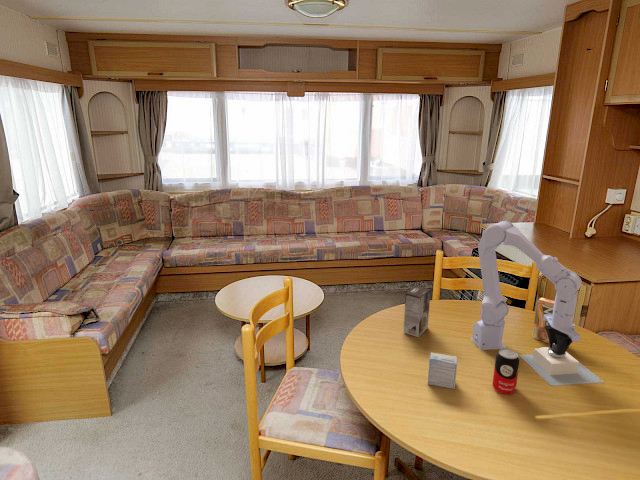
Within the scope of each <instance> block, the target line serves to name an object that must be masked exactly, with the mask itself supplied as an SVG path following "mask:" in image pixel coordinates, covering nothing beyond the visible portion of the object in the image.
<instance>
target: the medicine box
mask: <svg viewBox="0 0 640 480" xmlns="http://www.w3.org/2000/svg"><path fill="white" fill-rule="evenodd" d="M428 360H429V361H428V371H427V372H428V373H427V385H429V386H430V385H431V386H435V387H441V388H447V389H453V390H455V389H456V378H457V369H458V368H457V367H458V357H457V356H455V355H448V354H443V353H435V352H430V354H429V359H428Z"/></svg>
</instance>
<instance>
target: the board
mask: <svg viewBox="0 0 640 480" xmlns="http://www.w3.org/2000/svg"><path fill="white" fill-rule="evenodd" d="M533 354H534V353H533ZM533 354H532V353H531V354H518V357H520V358H521V359H522V360H523V361H524V362H525V363H526V364H528V365H529V366H530V367H531V368H532V369H533V370H534V371H535V372H536V373H537V374H538V375H539V376H540V377H541V378H542V379H543V380H544V381H546V383H548V384H549V386H551V387H554V386H568V385H583V384H585V385H587V384H598V383H599V384H600V383H605V381H604V380H603V379H601V378H600V377H599V376H597V375H596V374H595V373H594V372H592V371H591V370H590V369H588V368H587V367H586V366H585V365H583V363H581V362H579V367H578V372H577V374H562V375H549V374H548V373H547V372H546V371H545V370H544V369H543V368H542V367H540V366H539V365H538V364H537V363H536V362H535V361H534V360H533Z"/></svg>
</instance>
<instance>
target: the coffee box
mask: <svg viewBox="0 0 640 480" xmlns="http://www.w3.org/2000/svg"><path fill="white" fill-rule="evenodd" d="M404 298H405V302H404V316H403V317H404V318H403V319H404V320H403V333H404V334H407V335H411V336H413V337H416V338H420V337H421V335H422V334H423V333H424V332H425V331H426V330H427V329H428V327H429V317H430V315H429V314H430V301H431V299H430V298H431V289H430V288H426V287H422V286H418V285H414V286H413V287H411V288H410V289H409V290H408V291H407V292H406V293H405V297H404Z"/></svg>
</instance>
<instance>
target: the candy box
mask: <svg viewBox="0 0 640 480" xmlns="http://www.w3.org/2000/svg"><path fill="white" fill-rule="evenodd" d="M554 302H555V300H552V299H548V298H545V297H540V298H539V299H538V300H536V308H535V315H534V321H533V328H532V334H531V335H532V336H531V338H533V339H535V340H539V341H540V342H543V343H547V344H549V339H548V334H547V331H546V329H545V326H547V325H550V324H549V322H548V321H544V320H543V318H544V314H550V315H552V314H553V308H554Z"/></svg>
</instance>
